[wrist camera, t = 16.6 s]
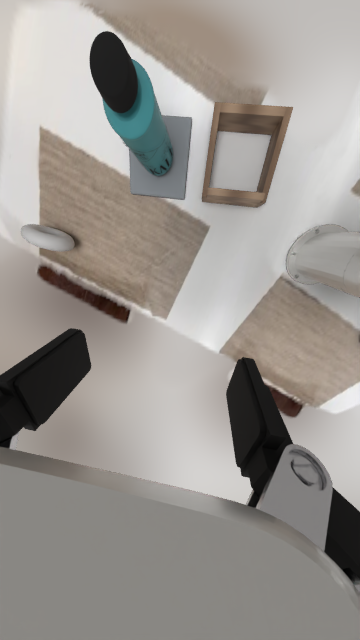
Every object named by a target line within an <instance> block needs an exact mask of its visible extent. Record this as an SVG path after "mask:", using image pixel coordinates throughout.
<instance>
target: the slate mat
mask: <svg viewBox="0 0 360 640" xmlns="http://www.w3.org/2000/svg"><path fill="white" fill-rule="evenodd" d="M162 118H163V121H165V122H164V123H165V126H167V132H169V133H168V134H169V135H168V136H169V139H170V142H172V143H171V145H172V148H173V151H174V155H173V159H172V163H171V167H170V168H169V170H168V171H167V172H166V173H165V174H163V175H160V176H156V175H153V174H151V173H150V172H148V171H147V169H145V167H144V166H142V165H143V164H142V165H141V162H139V160H137V159H138V158H137V157H136V156H135V155H134V153H132V152H131V150H129V156H130V187H131V194H134V195H143V196H153V197H162V198H172V199H181V200H184V198H185V188H186V178H187V167H188V157H189V146H190V136H191V126H192V117H178V116H163V115H162ZM149 173H150V174H149Z"/></svg>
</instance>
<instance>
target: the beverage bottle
mask: <svg viewBox="0 0 360 640" xmlns="http://www.w3.org/2000/svg"><path fill="white" fill-rule="evenodd" d="M90 69H91V74H92V77H93V80H94V83H95V85H96V87H97V89H98V90H99V92H100V94H101V96H102V98H103V105H104V110H105V113H106V116H107V119H108V121H109V123H110V125H111V126H112V128H113V129H114V131H115V132H116V133H117V134H118V135H119V136H120V138H122V140H123V141H124V142H125V144H126V145H127V146H128V147H129V150H131V152H132V153H134V155H135V156H136V157H137V158H138V159H137V160H139V162H141V165H142V164H143V165H142V166H144V167H145V169H147V171H148V172H150V173H151V174H153V175H156V176H160V175H163V174H165V173H166V172H167V171H168V170H169V168H170V167H171V163H172V159H173V155H174V151H173V148H172V145H171V143H172V142H170V139H169V136H168V135H169V134H168V133H169V132H167V126H165V123H164V122H165V121H163V118H162V115H161V112H160V109H159V106H158V103H157V100H156V97H155V94H154V91H153V87H152V83H151V81H150V78H149V76H148V74H147V72H146V71H145V69H144V68H143V67H142V66H141V65H140V64H139V63H138V62H137V61H135V60H133V59H131V57H130V55H129V54H128V52H127V50H126V48H125V46H124V44H123V43H122V41H121V40H120V39H119V38H118V37H117V36H116V35H115V34H114V33H112V32H108V31H105V32H102V33H100V34H99V35H98V36H97V37H96V38H95V40H94V41H93V44H92V47H91V51H90ZM124 142H123V143H124ZM126 145H125V146H126ZM127 146H126V147H127ZM150 173H149V174H150Z"/></svg>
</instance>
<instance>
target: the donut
mask: <svg viewBox="0 0 360 640" xmlns="http://www.w3.org/2000/svg"><path fill="white" fill-rule="evenodd" d="M21 235H22V237H23V238H24V239H25V240H26V241H27V242H29V243H31V244H33V245H35V246H37V247H40V248H44V249H48V250H53V251H69V250H72V249H73V247H74V245H75V243H74V240H73V238H72V237H71V236H69V235H68V234H67V233H65V232H63V231H60V230H57V229H54V228H51V227H47V226H42V225H35V224H29V225H25V226H23V227H22V228H21Z"/></svg>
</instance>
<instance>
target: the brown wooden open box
mask: <svg viewBox="0 0 360 640" xmlns="http://www.w3.org/2000/svg"><path fill="white" fill-rule="evenodd" d="M292 110H293V107H282V106H267V105H251V104H235V103H219V102H215V105H214V113H213V120H212V127H211V135H210V142H209V149H208V156H207V164H206V171H205V178H204V185H203V193H202V202H210V203H219V204H229V205H238V206H248V207H259V206H261V205H263V204H264V203H265V202H266V199H267V195H268V192H269V188H270V185H271V181H272V178H273V175H274V171H275V168H276V164H277V161H278V158H279V154H280V151H281V147H282V144H283V141H284V137H285V134H286V130H287V127H288V123H289V120H290V117H291V113H292ZM217 131H228V132H241V133H254V134H268V135H272V136H271V139H270V143H269V147H268V151H267V155H266V158H265V162H264V166H263V170H262V173H261V177H260V181H259V185H258V188H257V192H249V191H239V190H229V189H219V188H209V183H210V177H211V170H212V164H213V157H214V150H215V144H216V137H217Z"/></svg>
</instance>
